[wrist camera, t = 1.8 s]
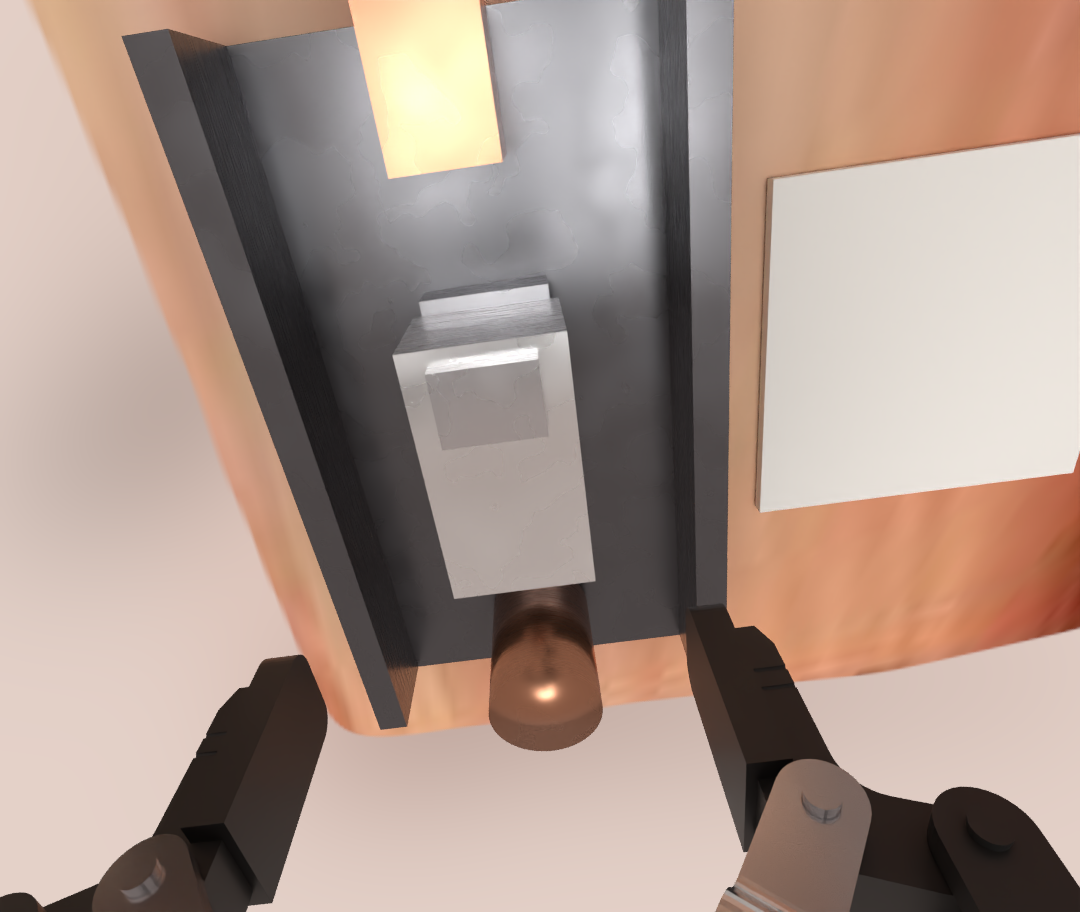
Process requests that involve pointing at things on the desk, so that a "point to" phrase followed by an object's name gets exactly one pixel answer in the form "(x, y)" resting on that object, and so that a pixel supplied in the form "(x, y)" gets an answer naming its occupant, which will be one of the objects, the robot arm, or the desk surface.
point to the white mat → (920, 325)
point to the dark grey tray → (477, 300)
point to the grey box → (499, 445)
